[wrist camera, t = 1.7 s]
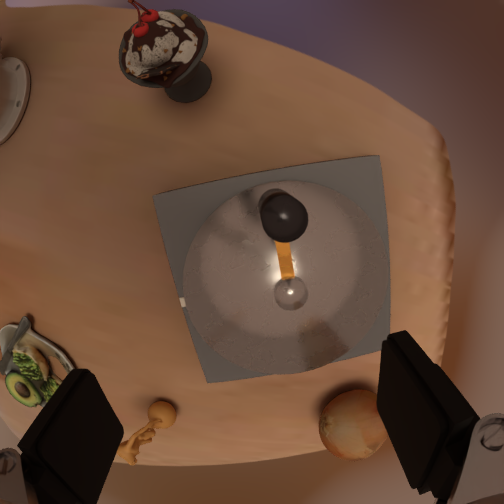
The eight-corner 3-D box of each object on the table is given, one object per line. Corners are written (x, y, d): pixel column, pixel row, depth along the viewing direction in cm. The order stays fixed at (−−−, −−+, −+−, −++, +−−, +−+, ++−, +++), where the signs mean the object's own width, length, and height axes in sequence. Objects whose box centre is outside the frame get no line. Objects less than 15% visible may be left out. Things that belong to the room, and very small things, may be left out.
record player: (163, 204, 27) (130, 220, 19) (373, 166, 26) (418, 169, 18) (213, 377, 33) (205, 431, 25) (382, 344, 32) (412, 389, 24)
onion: (320, 376, 36) (338, 431, 27) (387, 374, 37) (415, 422, 27) (305, 424, 39) (316, 477, 29) (366, 420, 39) (385, 468, 30)
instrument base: (159, 193, 30) (151, 196, 27) (369, 155, 29) (380, 155, 26) (209, 370, 36) (207, 384, 33) (381, 337, 35) (389, 348, 32)
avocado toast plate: (-4, 290, 33) (-22, 301, 29) (86, 340, 35) (71, 359, 31) (6, 376, 38) (-7, 390, 34) (83, 421, 40) (74, 439, 36)
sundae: (180, 42, 25) (133, -33, 11) (232, 70, 26) (219, -4, 12) (143, 92, 27) (68, 46, 12) (194, 122, 28) (147, 85, 13)
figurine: (169, 425, 39) (153, 488, 27) (132, 409, 38) (108, 469, 27) (187, 393, 37) (171, 462, 25) (146, 375, 36) (118, 441, 25)
